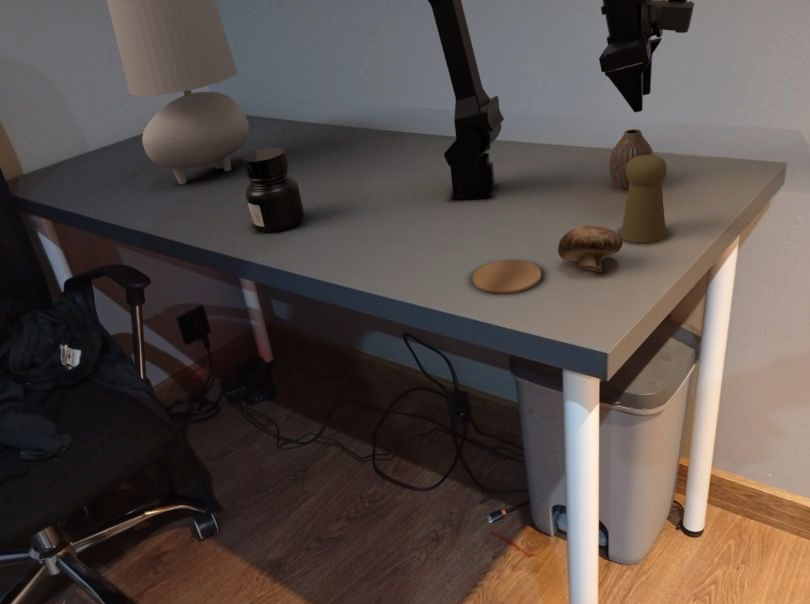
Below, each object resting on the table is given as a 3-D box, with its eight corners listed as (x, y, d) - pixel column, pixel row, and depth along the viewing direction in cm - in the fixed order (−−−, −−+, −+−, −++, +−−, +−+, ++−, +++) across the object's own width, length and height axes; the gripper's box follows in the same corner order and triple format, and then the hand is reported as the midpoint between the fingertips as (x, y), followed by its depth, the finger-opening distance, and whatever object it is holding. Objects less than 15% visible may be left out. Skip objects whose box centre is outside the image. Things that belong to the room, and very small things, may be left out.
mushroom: (606, 264, 89) (599, 214, 90) (550, 278, 95) (543, 231, 95) (635, 269, 95) (628, 223, 96) (581, 282, 101) (574, 238, 101)
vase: (655, 191, 115) (657, 136, 111) (609, 194, 117) (610, 139, 113) (651, 176, 121) (654, 123, 116) (608, 179, 123) (609, 126, 118)
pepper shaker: (673, 230, 103) (679, 152, 97) (653, 246, 99) (657, 167, 93) (634, 222, 106) (636, 148, 101) (612, 238, 103) (614, 161, 97)
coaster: (468, 294, 95) (468, 291, 95) (477, 263, 102) (477, 260, 102) (538, 293, 92) (538, 290, 92) (543, 262, 100) (543, 259, 100)
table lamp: (181, 200, 144) (112, -26, 123) (137, 182, 158) (68, -23, 138) (278, 165, 155) (231, -48, 134) (229, 151, 170) (178, -42, 149)
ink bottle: (260, 215, 130) (243, 148, 124) (308, 209, 130) (294, 142, 123) (248, 237, 122) (230, 167, 116) (300, 231, 121) (284, 160, 115)
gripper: (678, -19, 90) (696, 107, 97) (690, -38, 104) (705, 73, 111) (588, 9, 95) (611, 126, 102) (611, -13, 110) (630, 91, 116)
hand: (642, 102), depth 108 cm, fingers open, 9 cm apart
